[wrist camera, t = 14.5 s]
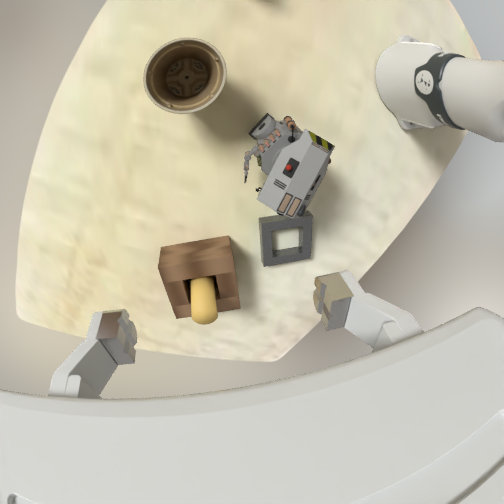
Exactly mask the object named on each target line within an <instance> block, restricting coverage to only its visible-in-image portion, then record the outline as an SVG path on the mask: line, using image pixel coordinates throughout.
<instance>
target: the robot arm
mask: <svg viewBox="0 0 504 504" xmlns="http://www.w3.org/2000/svg"><path fill="white" fill-rule="evenodd" d="M376 84H377V89H378V92H379V94H380V97H381V99H382V101H383V102H384V104H385V105H386V106H387V108H388V109H389V110H390V111H391V112H392V113H393V114H394V115H395V116H396V118H397V120H398V122H399V124H400V126H401V128H403V129H406V130H410V129H416V128H422V127H428V128H434V127H439V126H443V125H447V126H449V127H452V128H456V129H460V130H465V129H467V130H469V131H471V132H474V133H476V134H479V135H481V136H483V137H486V138H488V139H490V140H492V141H495V142H504V60H502V61H490V60H478V59H470V58H466V57H464V56H462V55H459V54H455V53H450V52H447V51H442V48H441V47H438V46H435V44H431V43H421V42H419V41H418V40H416V39H414V38H412V37H411V36H409V35H404V34H402V35H401V36H400V37H399V38H398V40H397V41H396V43H395V44H394V45H392V46H390V47H388V48H387V49H385V50H384V51H383V53H382V54H381V55H380V57H379V59H378V62H377V66H376ZM410 122H411V124H410ZM315 286H316V290H315V291H314V295H313V299H314V305H315V308H316V310H317V312H318V313H320V314H322V317H321V320H322V323H323V325H324V327H325V329H326V331H328V330H332V329H336V328H341V327H345V328H346V329H347V330H349V331H350V332H351V333H353V334H354V335H356V336H357V337H358V338H360V339H361V340H363V341H364V342H365V343H367V344H368V345H370V346H371V347H372V348H374V349H373V351H372V353H371V354H368V355H365V356H362V357H359V358H356V359H353V360H350V361H347V362H344V363H340V364H337V365H333V366H330V367H327V368H323V369H319V370H316V371H312V372H308V373H304V374H300V375H297V376H292V377H289V378H284V379H279V380H275V381H270V382H266V383H261V384H256V385H250V386H245V387H240V388H234V389H227V390H220V391H214V392H206V393H199V394H189V395H179V396H168V397H154V398H131V399H102V398H101V397H100V396H99V395H100V393H101V392H102V390H103V389H104V387H105V385H106V384H107V382H108V381H109V379H110V377H111V376H112V374H113V373H114V371H115V370H116V368H117V366H118V365H122V364H132V363H135V353H136V351H135V349H134V345H135V344H136V343H137V331H136V328H135V325H134V323H133V322H132V321H130V320H129V314H128V312H127V310H125V309H120V310H110V311H103V312H95V313H94V314H93V316H92V319H91V323H90V326H89V330H88V334H87V337H86V341H83V342H81V343H80V345H79V346H78V347H77V348H76V349H75V350H74V351H73V352H72V353H71V354H70V356H69V357H68V358H67V359H66V360H65V361H64V362H63V363H62V364H61V365H60V367H59V368H58V369H57V370H56V371H55V372H54V374H53V377H52V381H51V385H50V390H49V394H48V396H43V395H33V394H26V393H19V392H13V391H7V390H2V389H0V504H504V318H502V317H500V316H499V315H497V314H495V313H493V312H491V311H489V310H487V309H484V308H481V307H477V308H474V309H472V310H470V311H468V312H466V313H464V314H462V315H460V316H458V317H456V318H454V319H452V320H450V321H448V322H446V323H444V324H442V325H440V326H438V327H436V328H434V329H431V330H429V331H427V332H424V331H423V330H422V329H421V327H420V326H419V324H418V323H417V321H416V320H415V319H414V317H413V316H412V314H411V313H409V312H406V311H405V310H403V309H401V308H398V307H396V306H394V305H392V304H390V303H388V302H386V301H384V300H382V299H380V298H378V297H376V296H374V295H372V294H370V293H365V292H364V291H363V289H362V287H361V286H360V285H359V283H358V282H357V280H356V279H355V278H354V276H353V275H352V273H351V272H350V271H349V270H345V271H340V272H337V273H332V274H327V275H322V276H318V277H316V278H315Z"/></svg>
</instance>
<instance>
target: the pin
mask: <svg viewBox="0 0 504 504" xmlns="http://www.w3.org/2000/svg"><path fill="white" fill-rule="evenodd" d="M191 314H192V319H193V320H194V321H195V322H196V323H198V324H210V323H212V322H214V321H215V320H216V319H217V316H218V314H217V306H216V298H215V290H214V282H213V275H211V276H205V277H199V278H192V279H191Z"/></svg>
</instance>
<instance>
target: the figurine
mask: <svg viewBox="0 0 504 504" xmlns="http://www.w3.org/2000/svg"><path fill="white" fill-rule="evenodd" d="M249 135H250V136H251V137H253V138H254V139H258V145H256V146H254V147H253V149H252V150H251V151H247V152H245V157H244V159H245V162H244V170H245V182H246V178H247V174H248V172H247V169H248V170H249V160H250V159H251V157H250V156H251V155H252V154H254V156H256V157H257V158H258V159H257V161H258V166H261V168H262V169H261V170H262V171H263V172H264V173H266V174H267V175H268V178H267V180H266V182H265V183H264V185H263V187H262V188H260V187H259V188H258V189H256V191H257V192H258V191H260V190H259V189H261V191H260V193H259V195H258V198H257V200H259V201H260V202H262V203H263V204H265V205H266V206H268V207H270V208H271V209H273V210H274V211H276V212H277V214H279V215H281V216H284V215H285V216H288V217H290V218H293V219H295V218H301V217H302V216H303V214H304V212H305V210H306V208H307V206H308V204H309V202H310V201H311V199H312V197H313V195H314V193H315V192H316V190H317V188H318V186H319V184H320V182H321V181H322V179H323V177H324V175H325V173H326V171H327V166H328V164H330V163H331V159H330V155H331V153H332V151H333V149H334V147H335V146H334V145H332V144H331V143H329V142H327V141H326V140H324V139H322V138H321V137H319V136H317V135H315V134H314V133H312V132H310V131H308V130H306V129H305V130H304V132H302V131H301V130H300V129H299V128H298V127H297V126H296V124H295V121H294V120H292V118H291V117H290V116H286V117H285V118H284V120H283V121H276V122H275V120H274V118H273V117H272V116H270V115H269V114H268V113H267V114H266V115H265V116H264V117H263V118H262V119H261V120H260V121H259V123H258V124H257V125H256V126H255V127H254V128H253V129H252V130H251V131H250V133H249Z"/></svg>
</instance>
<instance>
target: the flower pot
mask: <svg viewBox="0 0 504 504" xmlns="http://www.w3.org/2000/svg"><path fill="white" fill-rule="evenodd" d="M195 63H199V64H200V66H201V67H202V68H201V69H199V68H198V67H197V66H196V65H195ZM176 64H178V67H176V68H175V69H174V71H171V70H172V68H173V67H174V66H175V65H176ZM226 75H227V70H226V64H225V61H224V58H223V57H222V55H221V53H220V52H219V51H218V50H217V49H216V48H215V47H214V46H213V45H211V44H210V43H208V42H206V41H204V40H201V39H197V38H179V39H175V40H172V41H170V42H168V43H166V44H164V45H163V46H161V47H160V48H159V49H157V50H156V51H155V52H154V53H153V55H152V56H151V57H150V59H149V60H148V62H147V64H146V67H145V70H144V76H143V82H144V88H145V91H146V93H147V95H148V97H149V98H150V100H151V101H152V102H153V103H154V104H155V105H157V106H158V107H160V108H161V109H163V110H165V111H168V112H171V113H177V114H187V113H193V112H196V111H199V110H201V109H203V108H205V107H207V106H208V105H210V104H211V103H212V102H213V101H214V100H215V99H216V98H217V97H218V96H219V94H220V93H221V91H222V90H223V87H224V85H225V81H226ZM185 76H188V78H187V79H186V78H185ZM199 85H202V86H201V87H200V88H199V89H198V90H196V88H197V86H199ZM172 87H174V88H175V89H176V90H177V91H179V92H178V93H175V92H174V91H173V90H172Z"/></svg>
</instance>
